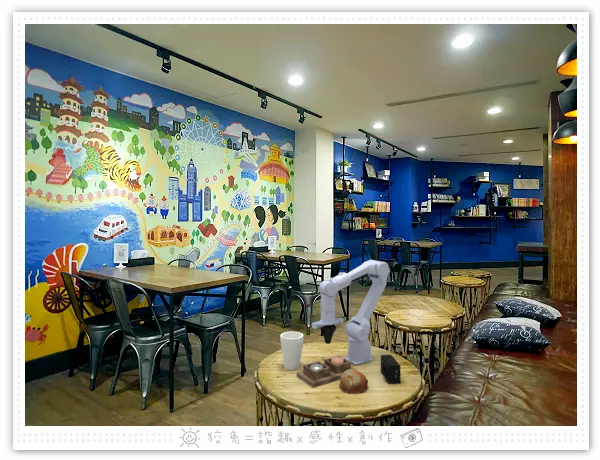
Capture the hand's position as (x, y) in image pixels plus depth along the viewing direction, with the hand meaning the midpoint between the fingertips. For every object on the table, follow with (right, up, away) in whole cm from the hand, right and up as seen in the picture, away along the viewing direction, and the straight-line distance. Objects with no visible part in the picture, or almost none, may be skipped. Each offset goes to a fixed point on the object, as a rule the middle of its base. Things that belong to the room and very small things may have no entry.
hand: (327, 343), depth 145 cm
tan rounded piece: (+3, -7, -6) cm, 10 cm away
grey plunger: (-5, -8, -11) cm, 15 cm away
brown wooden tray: (-1, -10, -9) cm, 13 cm away
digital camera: (+22, -10, -10) cm, 27 cm away
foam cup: (-15, -10, -1) cm, 18 cm away
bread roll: (+8, -10, -18) cm, 22 cm away
